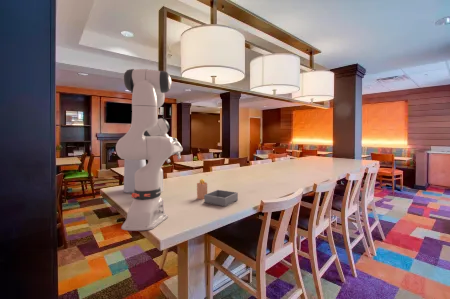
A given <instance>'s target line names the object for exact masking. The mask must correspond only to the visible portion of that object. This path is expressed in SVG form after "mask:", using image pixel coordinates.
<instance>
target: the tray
mask: <svg viewBox="0 0 450 299" xmlns="http://www.w3.org/2000/svg"><path fill="white" fill-rule="evenodd" d="M238 193H239V192H236V191H230V190H223V189H216V190H213V191H210V192H207V194H206V195H204V199H203V201H204V202H203V203H204V204H210V205H215V206H220V207H228V206H229V205H231V204H233V203H235V202H237V201H239V198H238V197H239V196H238V195H239V194H238Z"/></svg>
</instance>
